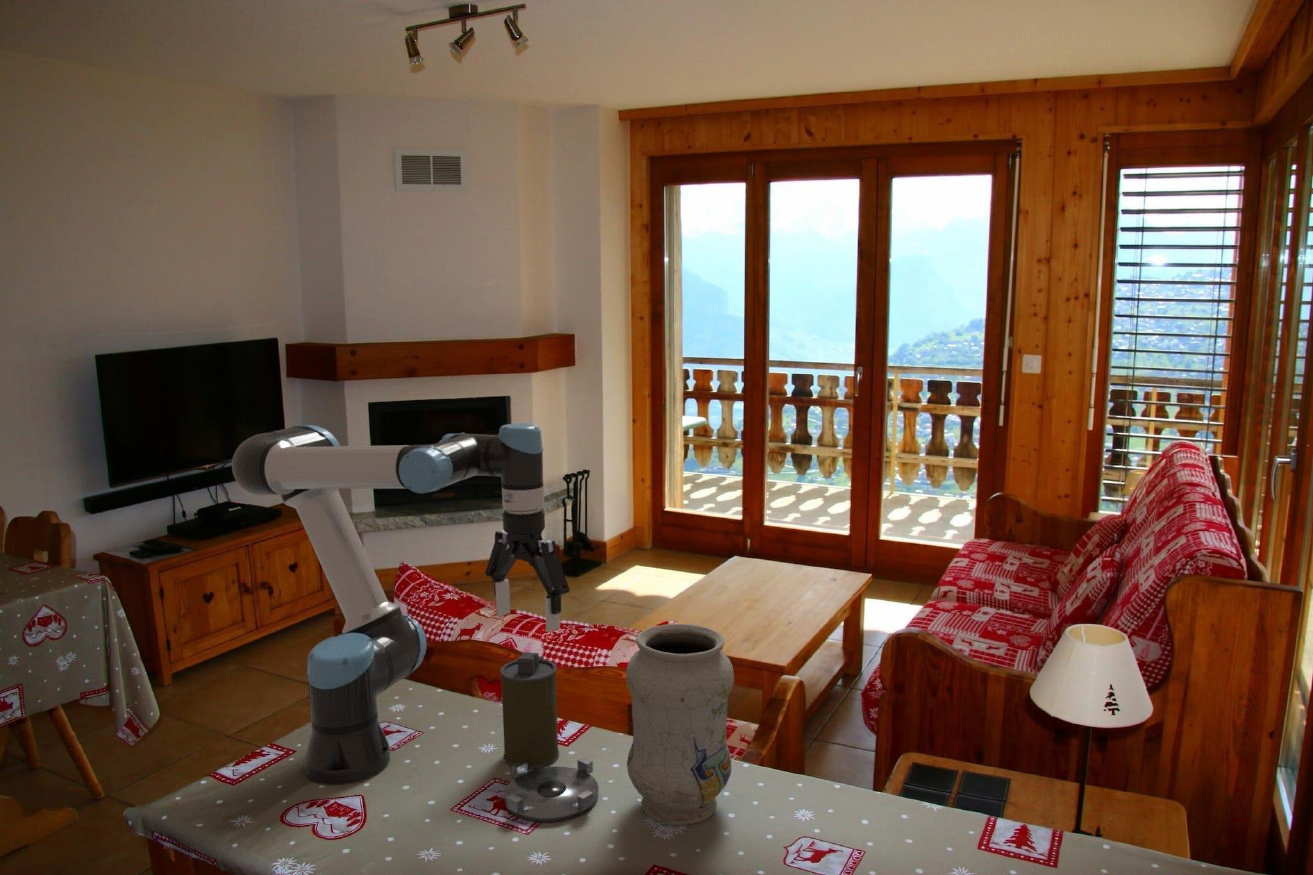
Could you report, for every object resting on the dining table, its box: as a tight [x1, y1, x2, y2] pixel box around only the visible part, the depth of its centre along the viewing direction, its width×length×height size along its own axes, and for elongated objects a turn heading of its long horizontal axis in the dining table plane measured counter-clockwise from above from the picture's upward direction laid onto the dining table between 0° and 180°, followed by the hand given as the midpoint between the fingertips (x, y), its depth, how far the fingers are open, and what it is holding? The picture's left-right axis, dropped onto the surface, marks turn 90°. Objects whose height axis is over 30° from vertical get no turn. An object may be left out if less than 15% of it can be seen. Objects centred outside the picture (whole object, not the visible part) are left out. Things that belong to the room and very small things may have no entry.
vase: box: [625, 623, 735, 826], centre depth 159 cm, size 18×18×30 cm
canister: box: [499, 651, 560, 771], centre depth 178 cm, size 11×10×20 cm
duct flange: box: [504, 756, 599, 824], centre depth 165 cm, size 18×18×4 cm
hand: (527, 622), depth 176 cm, fingers open, 13 cm apart
